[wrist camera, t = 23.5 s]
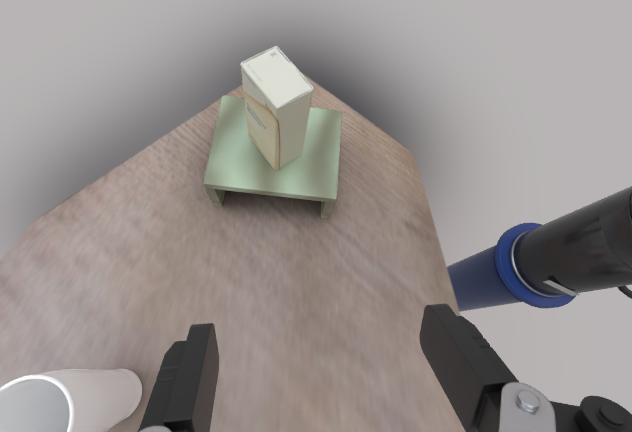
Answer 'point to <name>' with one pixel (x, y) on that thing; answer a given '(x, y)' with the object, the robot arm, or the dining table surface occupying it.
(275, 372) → the dining table surface
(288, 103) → the cosmetic box
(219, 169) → the shelf
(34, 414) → the white tumbler
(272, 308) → the dining table surface
